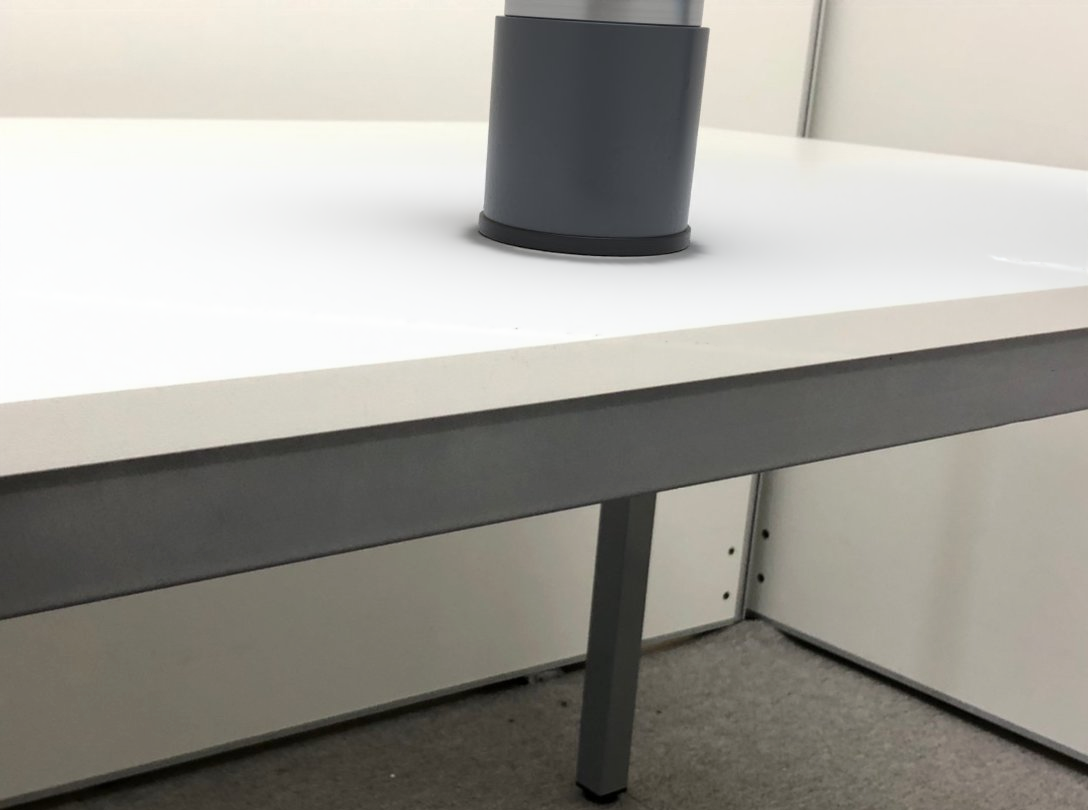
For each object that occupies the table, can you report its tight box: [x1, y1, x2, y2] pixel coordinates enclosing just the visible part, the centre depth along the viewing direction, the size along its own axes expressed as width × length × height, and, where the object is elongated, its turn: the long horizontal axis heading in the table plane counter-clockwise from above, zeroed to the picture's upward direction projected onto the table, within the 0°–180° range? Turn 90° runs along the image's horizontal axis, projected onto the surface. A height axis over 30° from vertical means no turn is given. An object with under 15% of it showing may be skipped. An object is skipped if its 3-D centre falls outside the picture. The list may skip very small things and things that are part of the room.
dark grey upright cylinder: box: [477, 0, 711, 257], centre depth 63 cm, size 10×10×12 cm
